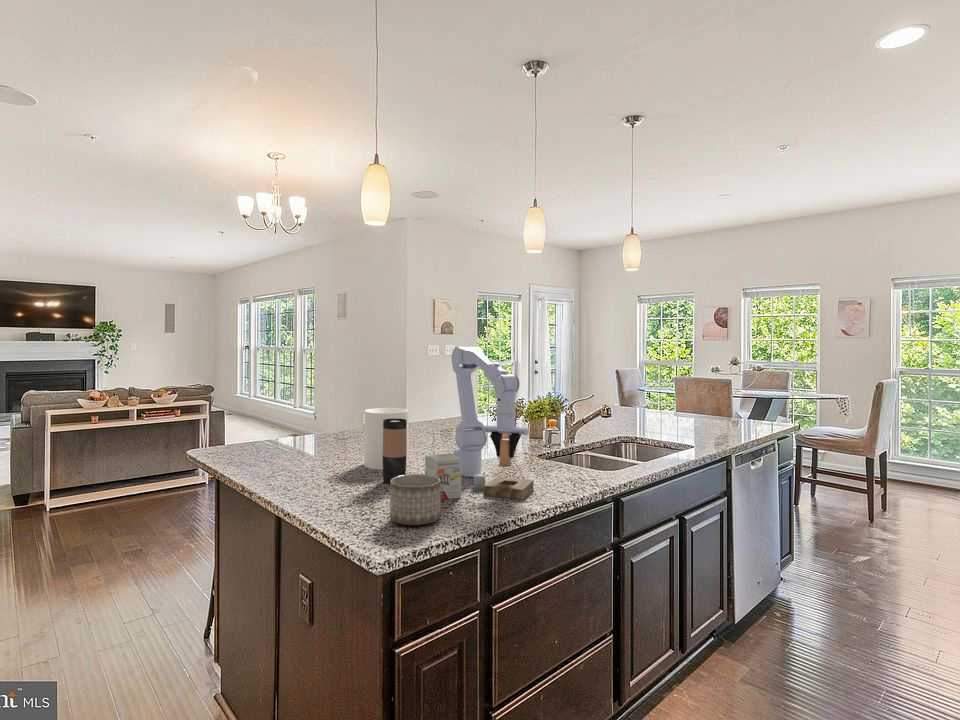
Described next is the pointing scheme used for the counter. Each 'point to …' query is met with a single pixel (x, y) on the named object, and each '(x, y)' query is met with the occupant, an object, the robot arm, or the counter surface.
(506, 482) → the socket block
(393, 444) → the travel mug
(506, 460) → the long peg
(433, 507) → the planter
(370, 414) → the canister
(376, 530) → the counter surface
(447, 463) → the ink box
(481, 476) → the short peg
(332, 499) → the counter surface
